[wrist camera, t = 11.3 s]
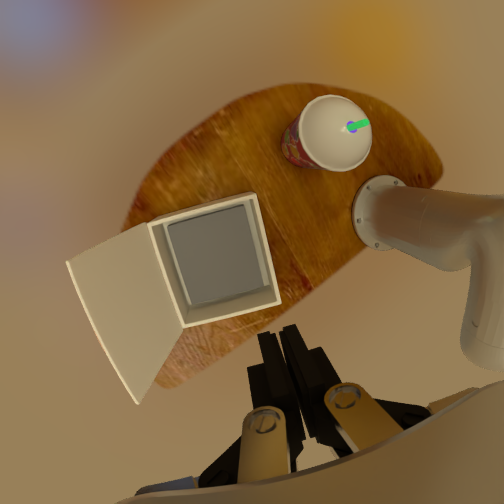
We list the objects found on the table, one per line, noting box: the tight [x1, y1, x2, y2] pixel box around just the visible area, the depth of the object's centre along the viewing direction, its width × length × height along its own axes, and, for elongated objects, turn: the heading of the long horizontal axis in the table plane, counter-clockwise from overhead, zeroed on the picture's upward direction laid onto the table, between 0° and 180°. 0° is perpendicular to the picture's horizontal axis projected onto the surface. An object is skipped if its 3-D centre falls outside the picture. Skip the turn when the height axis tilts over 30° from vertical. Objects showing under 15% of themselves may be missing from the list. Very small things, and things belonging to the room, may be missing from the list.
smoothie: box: [281, 95, 372, 172], centre depth 30 cm, size 8×8×20 cm
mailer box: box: [147, 191, 282, 328], centre depth 39 cm, size 14×15×7 cm
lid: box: [66, 222, 183, 404], centre depth 28 cm, size 14×16×1 cm
